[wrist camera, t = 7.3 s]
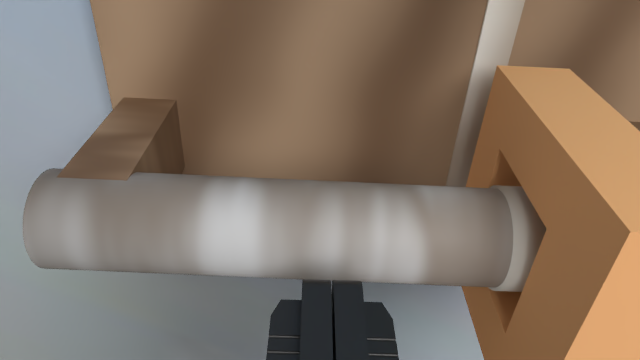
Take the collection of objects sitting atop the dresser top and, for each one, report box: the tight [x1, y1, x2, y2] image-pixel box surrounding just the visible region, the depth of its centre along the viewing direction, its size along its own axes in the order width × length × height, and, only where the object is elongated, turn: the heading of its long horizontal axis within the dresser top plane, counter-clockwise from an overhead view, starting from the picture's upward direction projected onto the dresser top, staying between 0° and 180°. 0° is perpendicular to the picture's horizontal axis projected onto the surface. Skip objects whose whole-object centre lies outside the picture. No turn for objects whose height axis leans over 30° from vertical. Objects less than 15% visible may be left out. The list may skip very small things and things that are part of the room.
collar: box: [462, 65, 640, 360], centre depth 15 cm, size 2×8×8 cm, turn 178°
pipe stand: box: [23, 0, 640, 292], centre depth 17 cm, size 22×12×9 cm, turn 87°
